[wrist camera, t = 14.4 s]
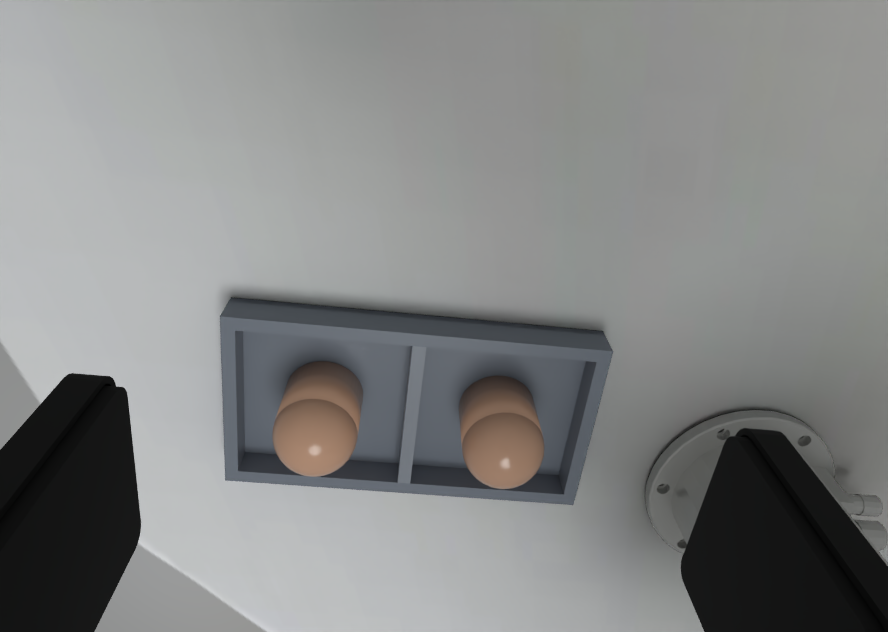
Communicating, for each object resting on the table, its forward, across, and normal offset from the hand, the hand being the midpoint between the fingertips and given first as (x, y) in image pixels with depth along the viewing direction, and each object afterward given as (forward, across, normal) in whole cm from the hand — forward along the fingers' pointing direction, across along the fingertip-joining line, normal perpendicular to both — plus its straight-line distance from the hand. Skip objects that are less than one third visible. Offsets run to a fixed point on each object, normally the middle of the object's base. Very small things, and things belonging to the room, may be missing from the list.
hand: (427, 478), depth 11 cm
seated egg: (+28, -6, +17) cm, 33 cm away
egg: (+28, +4, +17) cm, 33 cm away
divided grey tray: (+28, -1, +17) cm, 33 cm away
